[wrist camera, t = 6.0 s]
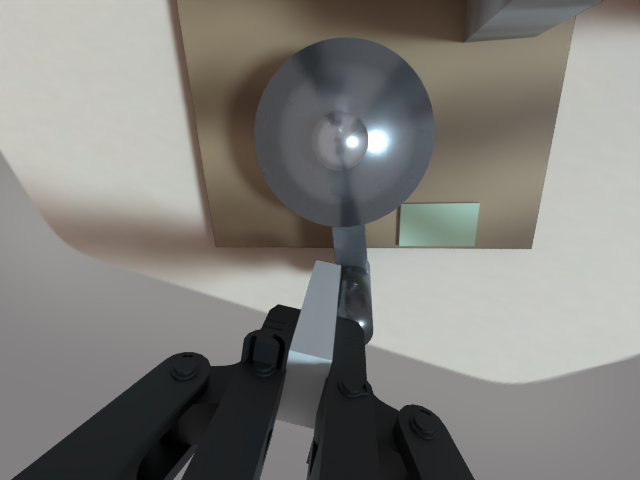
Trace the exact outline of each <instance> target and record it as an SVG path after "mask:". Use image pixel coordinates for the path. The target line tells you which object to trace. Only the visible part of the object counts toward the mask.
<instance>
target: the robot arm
mask: <svg viewBox="0 0 640 480" xmlns="http://www.w3.org/2000/svg"><path fill="white" fill-rule="evenodd" d="M340 273H341V265H336V264H332V263H328V262H323V261H319V260H316V262H315V265H314V269H313V272H312V275H311V279H310V282H309V285H308V289H307V292H306V296H305V299H304V302H303V306H302V309H301V310H300V309H296V308H292V307H287V306H283V305H279V304H278V305H277V306H275V307H274V308H272V309H271V310H270V311H269V313H268V315H267V317H266V320H265V322H264V324H263V327H262V328H261V330H255V331H253V332H251V333H249V334H248V335H247V336H246V337H245V338H244V343H243V350H242V357H241V361H240V362H238V363H236V364H233V365H227V366H210V363H209V361H208V359H207V358H205V357H204V356H203V355H201V354H197V353H194V352H183V353H179V354H175V355H173V356H171V357H169V358H167V359H166V360H165V361H163V362H162V363H161V364H159V365H158V366H157V367H155V368H154V369H153V370H152V371H150V372H149V373H148V374H146V375H145V376H144V377H143V378H141V379H140V380H139V381H137V382H136V383H135V384H134V385H132V386H131V387H130V388H129V389H127V390H126V391H125V392H123V393H122V394H121V395H119V396H118V397H117V398H116V399H114V400H113V401H112V402H110V403H109V404H108V405H107V406H105V407H104V408H103V409H101V410H100V411H99V412H98V413H96V414H95V415H94V416H92V417H91V418H90V419H89V420H87V421H86V422H85V423H83V424H82V425H81V426H80V427H78V428H77V429H76V430H74V431H73V432H72V433H71V434H69V435H68V436H67V437H65V438H64V439H63V440H62V441H60V442H59V443H58V444H56V445H55V446H54V447H53V448H51V449H50V450H49V451H48V452H46V453H45V454H44V455H42V456H41V457H40V458H39V459H37V460H36V461H35V462H33V463H32V464H31V465H30V466H28V467H27V468H26V469H24V470H23V471H22V472H21V473H19V474H18V475H17V476H15V477H14V478H13V479H12V480H173V479H174V478H175V477H176V475H177V474H178V473H179V472H180V470H181V469H182V468H183V467H184V465H185V464H186V463H187V462H188V460H189V459H190V458H191V457H192V455H193V454H194V455H193V458H192V459H191V461H190V463H189V465H188V467H187V469H186V471H185V473H184V475H183V477H182V479H181V480H260V476H261V473H262V469H263V465H264V461H265V458H266V454H267V451H268V448H269V444H270V440H271V437H272V432H273V427H274V423H275V419H277V420H281V421H285V422H289V423H292V424H296V425H300V426H305V427H309V428H313V429H314V426H315V429H314V437H313V441H312V444H311V448H310V452H309V456H308V459H307V463H308V464H309V466H308V474H307V480H475V479H474V478H473V476H472V474H471V472H470V470H469V468H468V467H467V465H466V463H465V461H464V459H463V458H462V456H461V454H460V452H459V450H458V449H457V447H456V445H455V443H454V441H453V439H452V438H451V436H450V434H449V432H448V430H447V429H446V427H445V425H444V424H443V423H442V421H441V420H440V418H439V417H438V416H436V415H435V414H434V413H433V412H432V411H430V410H428V409H426V408H424V407H422V406H418V405H413V404H412V405H406V406H404V407H403V408H402V409H401V410H400V411H398V410H396V409H394V408H393V407H391V406H389V405H387V404H385V403H384V402H382V401H381V400H379V399H378V398H377V397H376V396H375V395H374V394H373V391H372V387H371V385H370V384H369V383H368V381H367V377H366V357H365V343H364V342H365V337H364V330H363V329H362V327H361V325H360V324H359V322H355V321H351V320H347V319H342V318H338V317H336V315H337V305H338V294H339V284H340Z"/></svg>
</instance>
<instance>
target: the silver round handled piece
mask: <svg viewBox="0 0 640 480" xmlns="http://www.w3.org/2000/svg"><path fill="white" fill-rule="evenodd" d="M434 134H435V126H434V115H433V110H432V105H431V102H430V99H429V96H428V93H427V91H426V89H425V87H424V85H423V83H422V81H421V79H420V78H419V76H418V75H417V74H416V72H415V71H414V69H413V68H412V67H411V66H410V65H409V64H408V63H407V62H406V61H405V60H404V59H403V58H402V57H400V56H399V55H398V54H397V53H395V52H394V51H392V50H390V49H389V48H387V47H385V46H383V45H381V44H378V43H376V42H373V41H370V40H366V39H361V38H352V37H340V38H331V39H327V40H323V41H319V42H317V43H314V44H312V45H309V46H307V47H305V48H304V49H302V50H300V51H298V52H297V53H295V54H294V55H293V56H292V57H290V58H289V59H288V60H286V61H285V63H284V64H283V65H282V66H281V67H280V68H279V69H278V70H277V71H276V72H275V74H274V75H273V76H272V78H271V79H270V81H269V82H268V84H267V86H266V88H265V90H264V92H263V94H262V97H261V99H260V102H259V105H258V109H257V112H256V118H255V125H254V143H255V151H256V156H257V160H258V163H259V166H260V169H261V172H262V174H263V176H264V178H265V180H266V182H267V184H268V185H269V187H270V188H271V190H272V191H273V193H274V194H275V195H276V196H277V197H278V199H279V200H280V201H281V202H282V203H283V204H285V205H286V206H287V207H288V208H289V209H290V210H292V211H293V212H295V213H296V214H298V215H299V216H301V217H303V218H305V219H307V220H310V221H312V222H315V223H318V224H322V225H326V226H332V232H333V242H334V252H335V262H336V265H341V273H340V284H339V294H338V305H337V315H336V317H338V318H342V319H347V320H351V321H355V322H359V324H360V325H361V327H362V329H363V330H364V337H365V342H364V343H365V345H366V344H367V343H368V342H369V341H370V340H371V338H372V335H373V319H372V300H371V281H370V265H369V262H368V260H367V247H366V231H365V224H367V223H370V222H373V221H375V220H378V219H380V218H382V217H384V216H386V215H388V214H389V213H391V212H392V211H394V210H395V209H396V208H398V207H399V206H400V205H401V204H402V203H403V202H405V201H406V200H407V199H408V198H409V196H410V195H411V194H412V193H413V192H414V190H415V189H416V188H417V186H418V185H419V183H420V181H421V180H422V178H423V176H424V174H425V172H426V170H427V167H428V165H429V162H430V159H431V155H432V150H433V145H434Z"/></svg>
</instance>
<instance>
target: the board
mask: <svg viewBox="0 0 640 480" xmlns="http://www.w3.org/2000/svg"><path fill="white" fill-rule="evenodd" d="M601 1H603V0H177V6H178V13H179V19H180V25H181V32H182V38H183V44H184V50H185V57H186V63H187V69H188V76H189V82H190V88H191V95H192V101H193V107H194V114H195V120H196V126H197V132H198V139H199V145H200V151H201V158H202V164H203V170H204V177H205V183H206V189H207V195H208V202H209V208H210V214H211V221H212V227H213V233H214V240H215V246H216V247H306V248H334V242H333V232H332V226H326V225H322V224H318V223H315V222H312V221H310V220H307V219H305V218H303V217H301V216H299V215H298V214H296V213H295V212H293V211H292V210H290V209H289V208H288V207H287V206H286V205H285V204H283V203H282V202H281V201H280V200H279V199H278V197H277V196H276V195H275V194H274V193H273V191H272V190H271V188H270V187H269V185H268V184H267V182H266V180H265V178H264V176H263V174H262V172H261V169H260V166H259V163H258V160H257V156H256V151H255V143H254V125H255V118H256V112H257V109H258V105H259V102H260V99H261V97H262V94H263V92H264V90H265V88H266V86H267V84H268V82H269V81H270V79H271V78H272V76H273V75H274V74H275V72H276V71H277V70H278V69H279V68H280V67H281V66H282V65H283V64H284V63H285V61H286V60H288V59H289V58H290V57H292V56H293V55H294V54H295V53H297V52H298V51H300V50H302V49H304V48H305V47H307V46H309V45H312V44H314V43H317V42H319V41H323V40H327V39H331V38H340V37H352V38H361V39H366V40H370V41H373V42H376V43H378V44H381V45H383V46H385V47H387V48H389V49H390V50H392V51H394V52H395V53H397V54H398V55H399V56H400V57H402V58H403V59H404V60H405V61H406V62H407V63H408V64H409V65H410V66H411V67H412V68H413V69H414V71H415V72H416V74H417V75H418V76H419V78H420V79H421V81H422V83H423V85H424V87H425V89H426V91H427V93H428V96H429V99H430V102H431V105H432V110H433V115H434V126H435V134H434V145H433V150H432V155H431V159H430V162H429V165H428V167H427V170H426V172H425V174H424V176H423V178H422V180H421V181H420V183H419V185H418V186H417V188H416V189H415V190H414V192H413V193H412V194H411V195H410V196H409V198H408V199H407V200H406V201H405V202H403V203H402V204H401V205H400V206H399V207H398V208H396V209H395V210H394V211H392V212H391V213H389V214H388V215H386V216H384V217H382V218H380V219H378V220H375V221H373V222H370V223H367V224H365V231H366V247H367V248H462V249H532V244H533V238H534V233H535V228H536V223H537V217H538V212H539V207H540V202H541V196H542V191H543V186H544V181H545V175H546V170H547V165H548V160H549V154H550V149H551V144H552V139H553V133H554V128H555V123H556V118H557V113H558V107H559V102H560V97H561V92H562V86H563V81H564V76H565V71H566V65H567V60H568V55H569V50H570V44H571V39H572V34H573V29H574V23H575V18H576V15H577V14H579V13H581V12H583V11H584V10H586V9H588V8H590V7H592V6H594V5H595V4H597V3H599V2H601Z"/></svg>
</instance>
